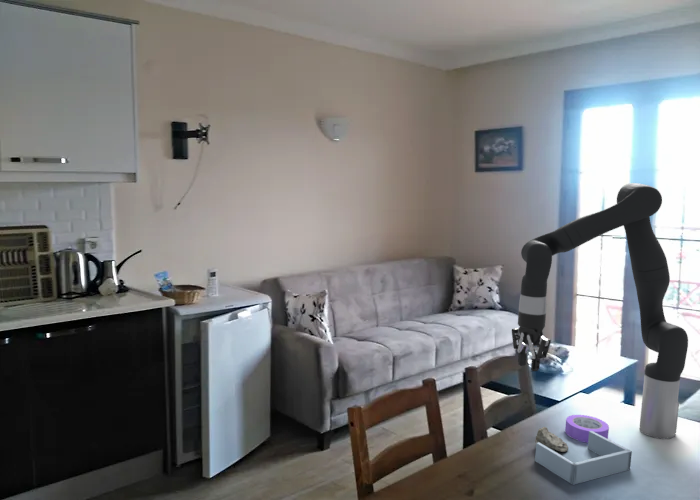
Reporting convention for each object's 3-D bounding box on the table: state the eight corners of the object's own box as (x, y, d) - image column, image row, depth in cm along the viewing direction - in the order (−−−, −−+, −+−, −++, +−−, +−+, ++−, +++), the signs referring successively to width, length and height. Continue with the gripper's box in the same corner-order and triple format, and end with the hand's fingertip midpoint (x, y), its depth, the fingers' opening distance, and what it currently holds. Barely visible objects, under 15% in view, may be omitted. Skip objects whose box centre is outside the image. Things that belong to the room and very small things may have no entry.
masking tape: (612, 434, 173) (613, 422, 173) (601, 448, 164) (602, 435, 163) (572, 423, 180) (573, 411, 180) (559, 435, 171) (560, 423, 171)
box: (590, 447, 163) (591, 430, 163) (630, 469, 152) (631, 451, 151) (534, 460, 155) (536, 442, 154) (572, 484, 143) (574, 465, 142)
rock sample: (571, 446, 155) (551, 417, 160) (547, 462, 157) (527, 432, 161) (576, 449, 164) (557, 421, 168) (553, 463, 165) (534, 435, 170)
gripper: (560, 315, 163) (556, 374, 166) (525, 304, 176) (521, 359, 178) (540, 317, 160) (535, 377, 162) (505, 306, 173) (501, 362, 175)
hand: (528, 367), depth 170 cm, fingers open, 4 cm apart
